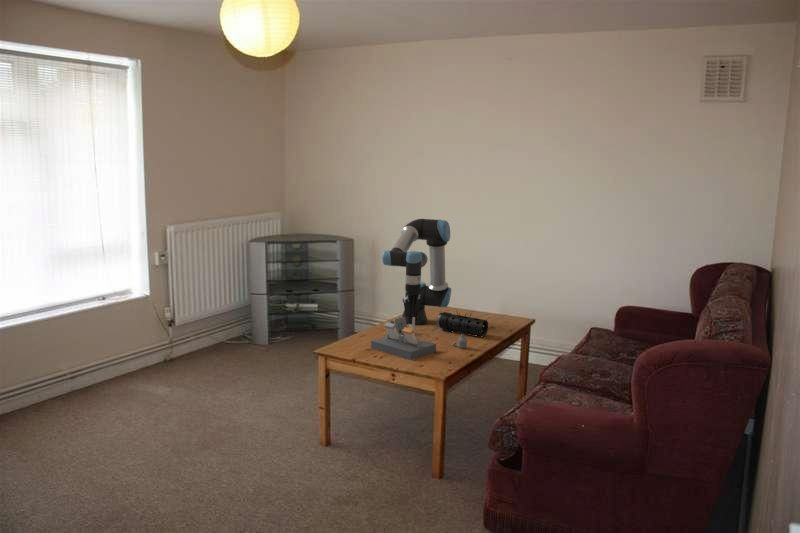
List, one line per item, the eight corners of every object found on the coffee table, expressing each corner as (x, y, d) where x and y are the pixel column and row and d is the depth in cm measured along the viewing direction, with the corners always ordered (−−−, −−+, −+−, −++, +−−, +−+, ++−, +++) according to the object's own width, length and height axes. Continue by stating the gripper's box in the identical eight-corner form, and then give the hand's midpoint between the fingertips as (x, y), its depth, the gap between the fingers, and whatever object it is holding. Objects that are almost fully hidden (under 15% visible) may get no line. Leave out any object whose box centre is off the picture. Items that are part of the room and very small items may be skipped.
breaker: (392, 336, 343) (386, 322, 338) (401, 338, 339) (395, 324, 334) (389, 339, 341) (383, 325, 336) (398, 341, 337) (392, 327, 332)
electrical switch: (397, 336, 361) (396, 319, 360) (390, 335, 364) (389, 318, 363) (408, 333, 368) (407, 316, 367) (400, 332, 371) (400, 316, 370)
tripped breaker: (410, 340, 335) (404, 327, 330) (419, 343, 331) (413, 329, 326) (407, 344, 334) (401, 330, 328) (416, 346, 330) (410, 332, 325)
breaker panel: (396, 340, 352) (397, 327, 351) (435, 351, 336) (436, 337, 335) (370, 348, 337) (371, 334, 336) (410, 360, 321) (411, 345, 320)
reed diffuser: (471, 348, 344) (474, 310, 340) (466, 351, 338) (468, 313, 334) (454, 344, 349) (456, 307, 345) (448, 347, 343) (450, 310, 340)
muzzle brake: (480, 339, 360) (481, 321, 359) (435, 331, 375) (436, 313, 373) (488, 336, 368) (489, 318, 367) (443, 327, 383) (444, 310, 381)
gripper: (410, 286, 318) (408, 334, 322) (427, 282, 328) (425, 328, 332) (398, 283, 323) (397, 330, 327) (415, 280, 333) (413, 325, 337)
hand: (411, 329), depth 330 cm, fingers closed
